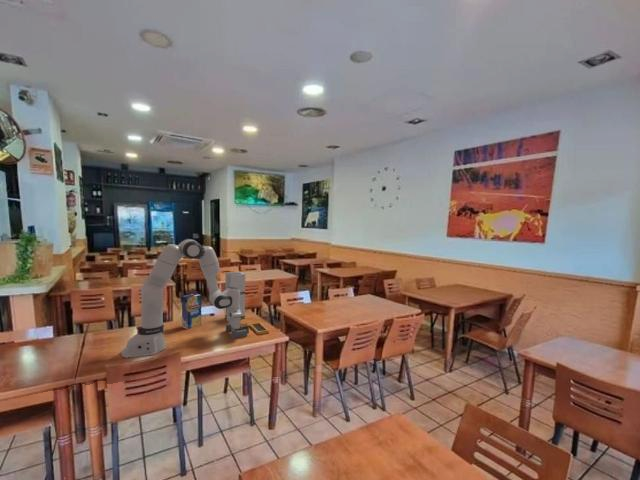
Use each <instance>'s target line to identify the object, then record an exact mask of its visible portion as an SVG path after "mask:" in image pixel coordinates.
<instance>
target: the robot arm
mask: <svg viewBox="0 0 640 480" xmlns="http://www.w3.org/2000/svg"><path fill="white" fill-rule="evenodd" d="M184 257H185V258H188V259H190V260H191V259H192V260H198V262H199V267H200V269H201V272H202V274H203V276H204V279H205V281H206V285H207V289H208V295H207V300H208V302H209V304H211V305H212V306H213V307H215V308H217V309H219V310H223V309H226V312H225V313H226V314H225V315H227V318H226V321H227V322H228V323H229V325H230V324H231V331H230V332H234V331H236V330H235V329H239V328H240V323H241V322H242V321H241V320H242V319H241V316H242V314H241V311H240V290H239V289H238V288H235V287H228V289H226V290H225V289H224V290H223V291H221V290H220V288H219V285H218V281H217V275H219V273H220V271H221V270H220V268H221V267H220V263H219V260H218V257H217V253H216V252H215V249H214V248H213V247H212V246H209V245H207V246H206V245H205V246H203V245H202V244H200V242H198V241H197V240H196V239H191V238H186V239H183V240H181V241H180V242H178V243H177V244H174V243H168V244H167V245H165V247H164V248H163V250H162V251H161V252H160V254H159V255H158V257H157V259H156V261H155V263H154V265H153V267H152V269H151V271H150V273H149V274H148V275H147V277H146V279H145V281H144V283H143V284H142V286H141V288H140V297H141V299H140V301H141V302H140V303H141V305H140V306H141V307H140V308H141V310H140V311H141V312H140V313H141V316H140V317H141V318H140V321H141V323H140V324H141V325H136V330H137V331H136V334H134V335H133V336H131V338H129V339H128V341H127V343H126V345H125V346H126V347H124V348H123V349H122V350H121V353H120V354H121V357H122V356H123V358H124V357H125V359H126V358H127V359H128V357H129V358H137V357H146V356H153V355H157V353H159V352H161V351H163V350H165V349H166V347H167V345H166V342H165V337H164V333H165V326H164V322H163V321H164V315H163V312H164V311H163V310H164V288H165V287H166V285H167V283H168V282H169V280H170V279H171V278H172V276H173V274H174V272H175V270H176V268H177V267H178V263H179V261H180V260H181V259H182V258H184Z"/></svg>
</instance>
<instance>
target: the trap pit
mask: <svg viewBox="0 0 640 480" xmlns="http://www.w3.org/2000/svg"><path fill="white" fill-rule="evenodd" d="M249 329H251V330H252V331H253V333H255V334H256V335H257V336H261V335H267V334H269V333H270V329H268V328H267V327H266V326H265V325H264V324H263V323H262V322H260V321H258V322H252V323H249Z"/></svg>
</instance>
